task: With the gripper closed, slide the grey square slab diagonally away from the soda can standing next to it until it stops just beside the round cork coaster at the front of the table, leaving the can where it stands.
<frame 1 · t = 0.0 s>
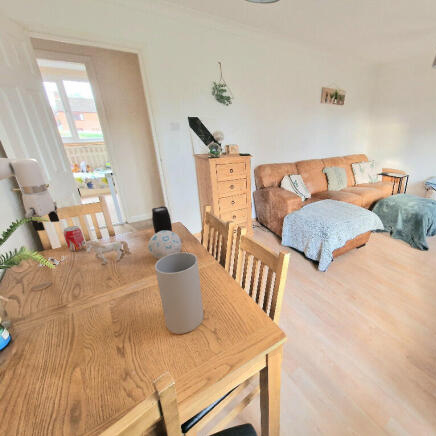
hand: (48, 225, 107), 20 cm above the table, tool pointing down, fingers open, 9 cm apart
cork coaster: (41, 286, 99), on the table
portable speaker: (164, 239, 143), on the table
grey square slab: (52, 261, 116), on the table
cylinder vase: (185, 321, 87), on the table
soda can: (77, 249, 128), on the table
puzzle ball: (167, 258, 124), on the table
unicorn figurine: (109, 264, 116), on the table
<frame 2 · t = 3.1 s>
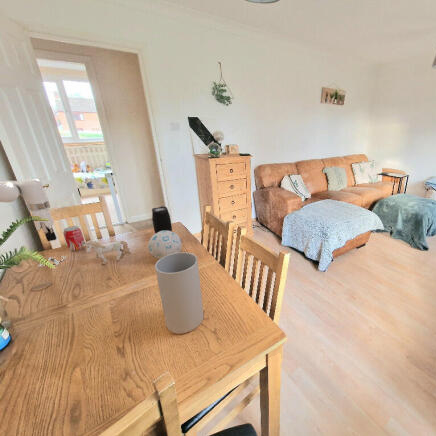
hand: (52, 239, 120), 8 cm above the table, tool pointing down, fingers closed
nothing on the table moved.
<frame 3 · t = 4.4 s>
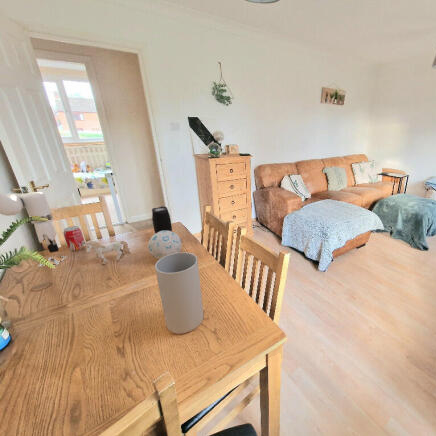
hand: (54, 251, 121), 2 cm above the table, tool pointing down, fingers closed
nothing on the table moved.
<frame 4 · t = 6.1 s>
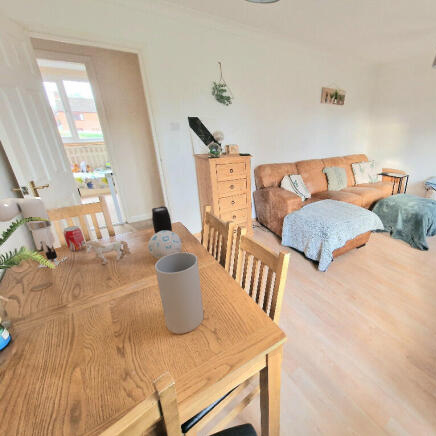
hand: (52, 258, 116), 1 cm above the table, tool pointing down, fingers closed
grey square slab: (52, 262, 115), on the table, touching gripper
everything else where it was.
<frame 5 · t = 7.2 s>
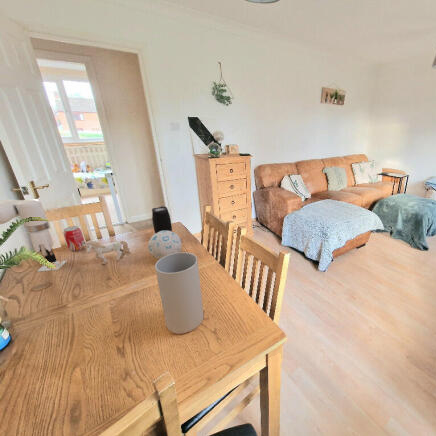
hand: (51, 261, 113), 1 cm above the table, tool pointing down, fingers closed
grey square slab: (52, 266, 113), on the table, touching gripper
everything else where it was.
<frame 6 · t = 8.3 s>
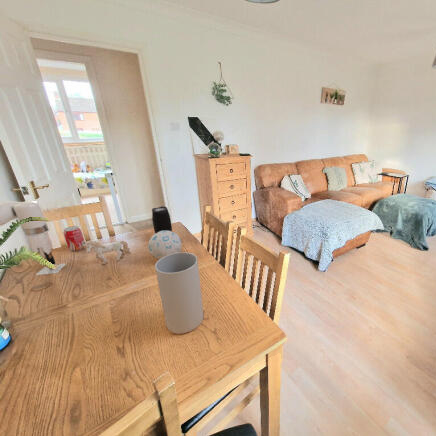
hand: (50, 264, 111), 2 cm above the table, tool pointing down, fingers closed
grey square slab: (51, 269, 110), on the table, touching gripper
everything else where it was.
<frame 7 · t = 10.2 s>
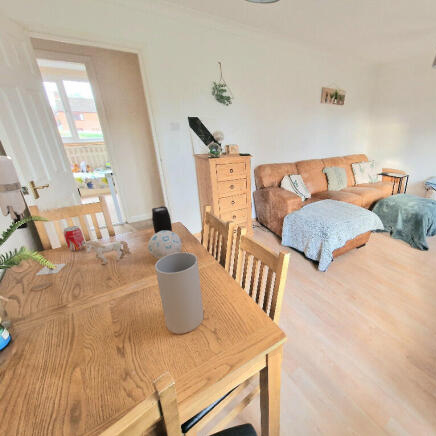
hand: (22, 227, 104), 20 cm above the table, tool pointing down, fingers closed
grey square slab: (51, 269, 110), on the table
everything else where it was.
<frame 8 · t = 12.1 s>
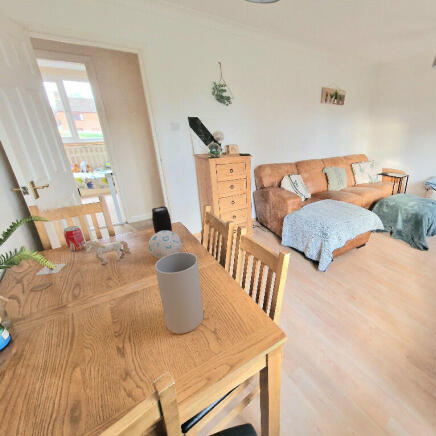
nothing on the table moved.
at the end: grey square slab inside the target area on the table beside the cork coaster (4.0 cm from its centre), on the table; grey square slab touching table; soda can moved 0.2 cm from its start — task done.
